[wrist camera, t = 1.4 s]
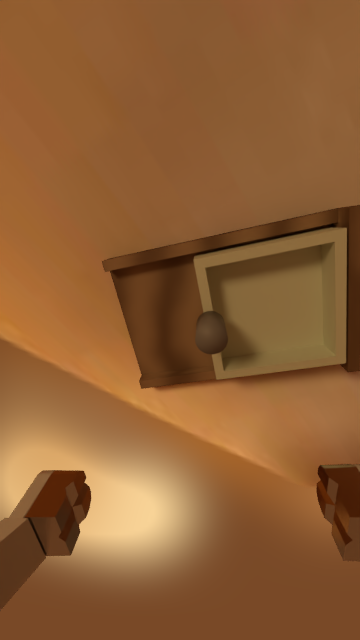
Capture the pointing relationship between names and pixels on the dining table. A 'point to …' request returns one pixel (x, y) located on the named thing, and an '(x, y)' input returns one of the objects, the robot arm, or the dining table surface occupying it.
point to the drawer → (274, 304)
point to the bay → (185, 302)
